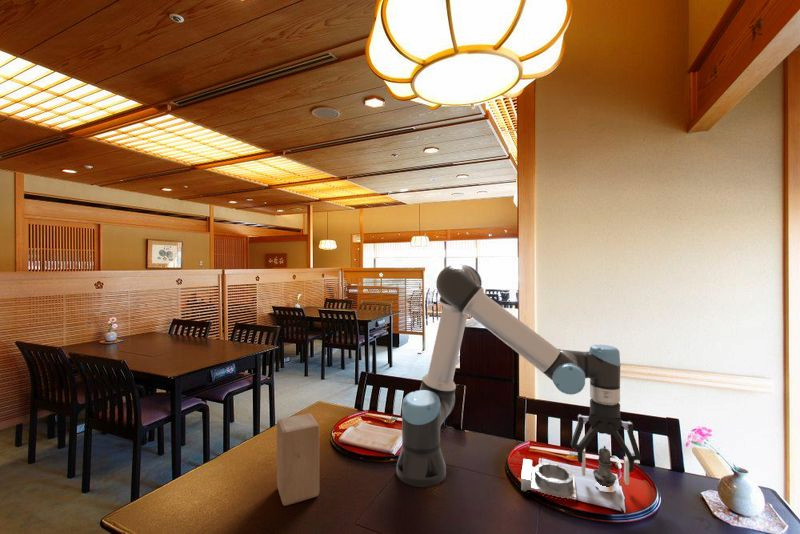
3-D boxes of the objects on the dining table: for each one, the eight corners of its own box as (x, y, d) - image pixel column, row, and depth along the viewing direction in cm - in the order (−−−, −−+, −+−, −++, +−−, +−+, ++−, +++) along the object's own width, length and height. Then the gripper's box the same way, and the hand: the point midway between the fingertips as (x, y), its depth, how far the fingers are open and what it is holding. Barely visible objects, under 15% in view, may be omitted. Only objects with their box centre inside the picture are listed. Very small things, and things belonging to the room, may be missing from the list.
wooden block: (282, 508, 94) (282, 432, 94) (276, 487, 103) (276, 418, 103) (320, 497, 99) (320, 424, 99) (311, 477, 108) (311, 411, 107)
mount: (521, 490, 101) (521, 476, 101) (523, 469, 112) (523, 456, 112) (576, 502, 96) (576, 487, 96) (573, 480, 106) (573, 466, 106)
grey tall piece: (619, 495, 99) (620, 452, 99) (596, 492, 100) (596, 449, 100) (611, 482, 105) (612, 441, 105) (590, 480, 106) (590, 439, 106)
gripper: (561, 399, 103) (561, 476, 104) (655, 411, 95) (655, 495, 95) (560, 390, 110) (560, 462, 111) (648, 401, 102) (648, 479, 102)
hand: (604, 477), depth 103 cm, fingers open, 10 cm apart
